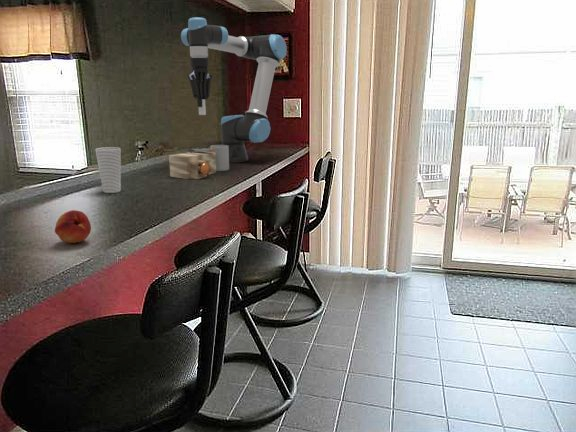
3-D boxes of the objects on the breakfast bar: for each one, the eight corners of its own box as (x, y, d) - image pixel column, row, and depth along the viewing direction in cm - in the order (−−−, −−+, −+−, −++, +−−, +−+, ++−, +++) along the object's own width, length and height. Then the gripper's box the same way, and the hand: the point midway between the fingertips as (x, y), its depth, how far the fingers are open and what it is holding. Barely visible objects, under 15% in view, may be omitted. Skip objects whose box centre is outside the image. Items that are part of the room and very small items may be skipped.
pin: (182, 170, 204) (181, 159, 203) (211, 174, 195) (210, 162, 194) (174, 171, 200) (173, 160, 199) (203, 175, 191) (202, 164, 190)
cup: (100, 194, 163) (95, 150, 159) (98, 190, 171) (94, 147, 167) (125, 192, 167) (122, 149, 163) (123, 188, 174) (119, 146, 170)
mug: (231, 168, 219) (230, 145, 216) (225, 171, 211) (225, 147, 208) (207, 167, 221) (206, 144, 219) (200, 170, 213) (199, 146, 210)
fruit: (56, 250, 107) (52, 216, 105) (56, 240, 114) (52, 208, 112) (93, 245, 110) (89, 212, 108) (91, 236, 117) (87, 205, 115)
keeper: (198, 151, 209) (198, 147, 209) (216, 150, 203) (216, 147, 203) (191, 152, 205) (190, 148, 205) (209, 152, 199) (208, 148, 199)
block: (199, 170, 213) (198, 146, 210) (222, 173, 206) (221, 149, 203) (170, 176, 198) (168, 151, 195) (193, 179, 191) (192, 153, 188)
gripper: (202, 58, 203) (205, 113, 210) (181, 57, 192) (185, 115, 199) (216, 57, 199) (218, 114, 206) (195, 56, 189) (198, 116, 195)
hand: (202, 114), depth 202 cm, fingers closed
